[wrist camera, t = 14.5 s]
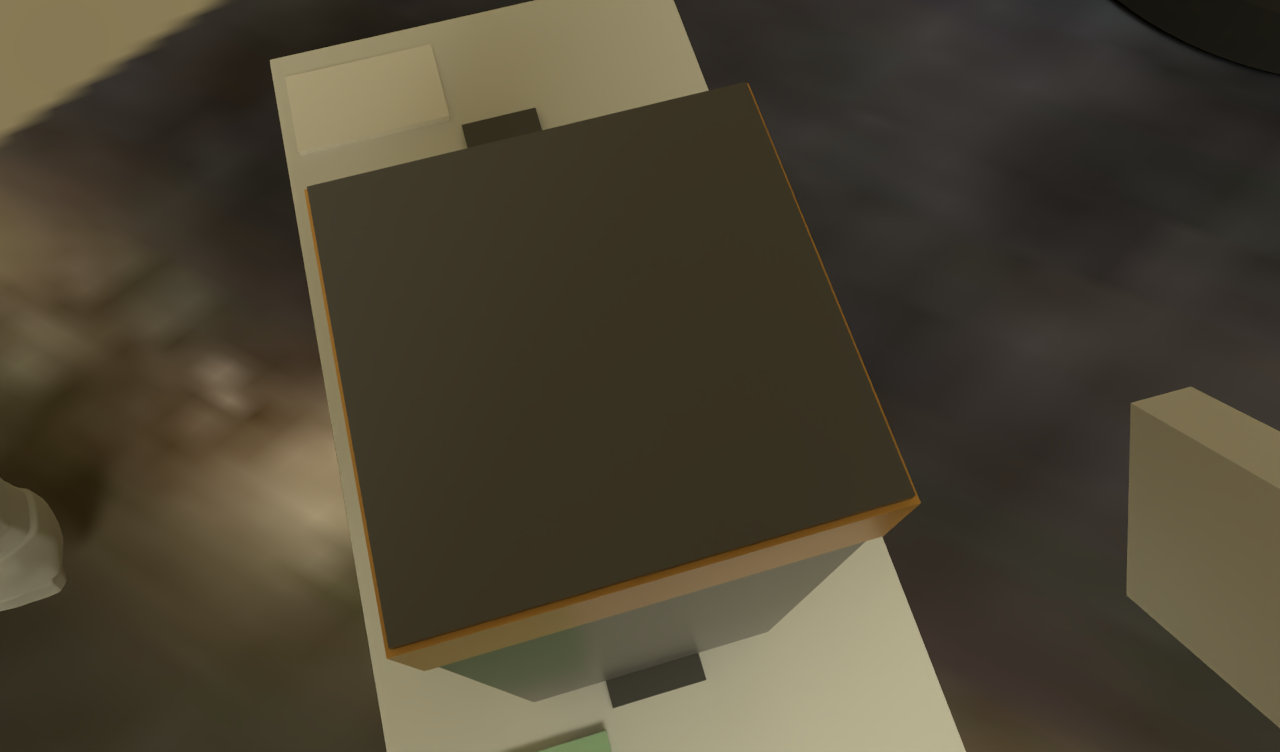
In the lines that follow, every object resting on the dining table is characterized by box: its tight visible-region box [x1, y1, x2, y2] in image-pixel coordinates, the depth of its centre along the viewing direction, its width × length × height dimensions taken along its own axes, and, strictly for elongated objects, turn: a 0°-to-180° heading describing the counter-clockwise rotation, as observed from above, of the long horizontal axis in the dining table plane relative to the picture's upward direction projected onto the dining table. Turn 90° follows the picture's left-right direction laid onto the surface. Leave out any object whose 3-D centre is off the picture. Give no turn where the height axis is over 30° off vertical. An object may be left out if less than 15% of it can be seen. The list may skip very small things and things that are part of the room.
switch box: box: [270, 0, 966, 752], centre depth 19 cm, size 9×18×4 cm, turn 16°
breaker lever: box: [304, 82, 921, 702], centre depth 12 cm, size 4×4×9 cm
